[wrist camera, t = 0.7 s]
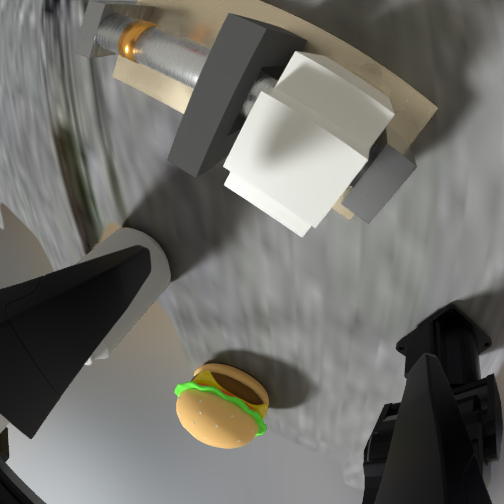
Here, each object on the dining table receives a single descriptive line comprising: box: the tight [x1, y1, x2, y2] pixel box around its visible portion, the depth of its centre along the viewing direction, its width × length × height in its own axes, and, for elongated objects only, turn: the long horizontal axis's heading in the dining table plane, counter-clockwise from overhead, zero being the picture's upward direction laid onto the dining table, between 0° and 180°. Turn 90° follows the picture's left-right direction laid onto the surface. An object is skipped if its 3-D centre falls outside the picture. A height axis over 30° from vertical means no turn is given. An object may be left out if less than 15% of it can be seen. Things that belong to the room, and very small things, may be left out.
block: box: [167, 13, 307, 178], centre depth 13 cm, size 2×7×6 cm, turn 153°
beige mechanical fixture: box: [75, 0, 438, 224], centre depth 15 cm, size 20×9×5 cm, turn 63°
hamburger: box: [175, 363, 269, 449], centre depth 34 cm, size 12×12×9 cm
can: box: [75, 227, 171, 365], centre depth 25 cm, size 8×8×12 cm
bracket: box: [223, 51, 395, 237], centre depth 13 cm, size 4×6×8 cm, turn 153°
